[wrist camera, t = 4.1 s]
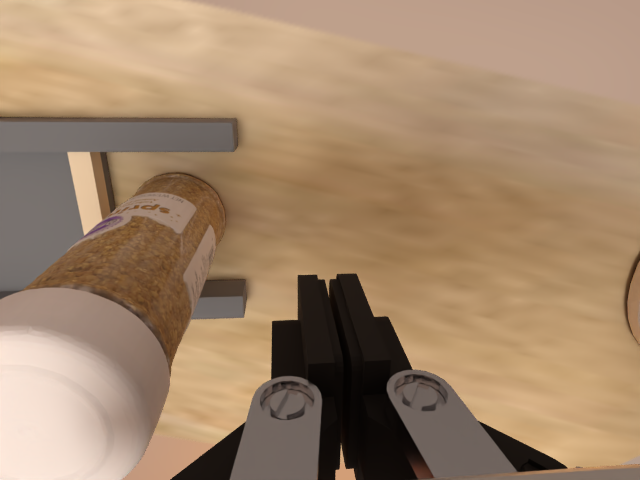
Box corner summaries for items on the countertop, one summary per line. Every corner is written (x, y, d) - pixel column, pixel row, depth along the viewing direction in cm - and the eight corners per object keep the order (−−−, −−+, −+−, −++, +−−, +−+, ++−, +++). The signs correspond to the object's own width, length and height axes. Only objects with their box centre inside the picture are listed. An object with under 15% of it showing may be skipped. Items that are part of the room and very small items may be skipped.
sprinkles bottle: (174, 151, 20) (-14, 287, 7) (246, 217, 21) (196, 427, 9) (111, 216, 20) (-154, 440, 8) (185, 276, 22) (57, 544, 9)
